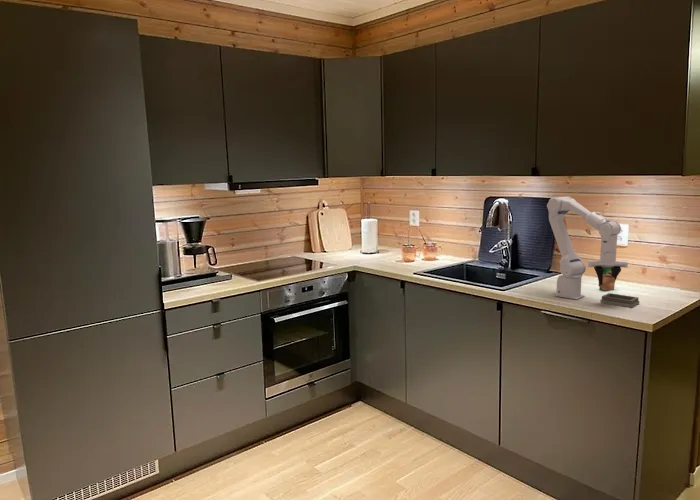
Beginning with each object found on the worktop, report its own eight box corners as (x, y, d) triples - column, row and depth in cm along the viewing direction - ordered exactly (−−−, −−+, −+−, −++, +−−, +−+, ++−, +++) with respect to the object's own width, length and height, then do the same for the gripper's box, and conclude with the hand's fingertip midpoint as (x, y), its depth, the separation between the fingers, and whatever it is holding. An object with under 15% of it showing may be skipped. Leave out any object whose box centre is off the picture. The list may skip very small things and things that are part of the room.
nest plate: (600, 302, 219) (600, 296, 219) (608, 298, 225) (609, 292, 225) (631, 308, 211) (631, 301, 210) (639, 303, 217) (639, 297, 216)
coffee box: (608, 287, 245) (610, 260, 243) (614, 289, 242) (616, 260, 240) (598, 290, 240) (600, 262, 238) (604, 291, 238) (606, 263, 236)
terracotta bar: (603, 289, 212) (604, 277, 211) (598, 285, 219) (599, 274, 218) (614, 290, 212) (614, 277, 211) (608, 286, 218) (609, 274, 218)
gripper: (592, 253, 210) (590, 286, 212) (631, 253, 208) (628, 287, 210) (587, 250, 217) (585, 282, 219) (625, 250, 215) (622, 283, 217)
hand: (606, 284), depth 215 cm, fingers closed on terracotta bar, 4 cm apart
